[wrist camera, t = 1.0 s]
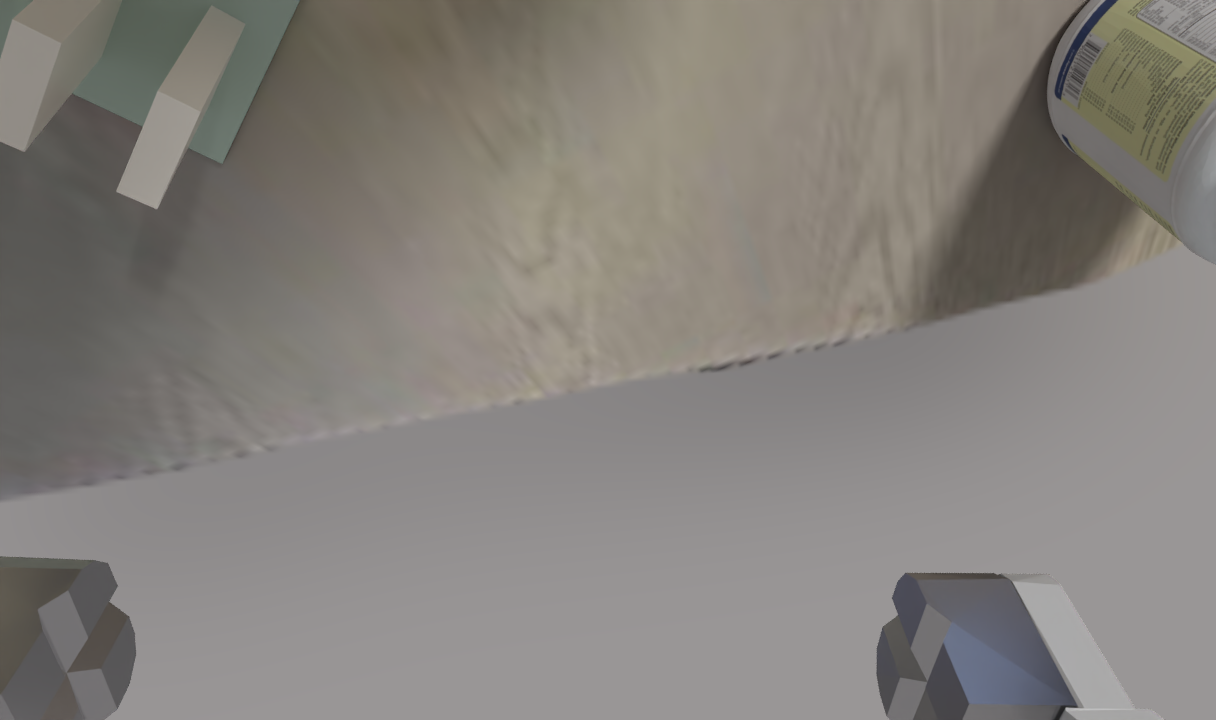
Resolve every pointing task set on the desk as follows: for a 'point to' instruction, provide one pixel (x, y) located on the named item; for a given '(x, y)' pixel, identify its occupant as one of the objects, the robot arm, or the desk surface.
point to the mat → (151, 44)
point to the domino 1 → (48, 61)
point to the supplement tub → (1145, 107)
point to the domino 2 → (180, 108)
